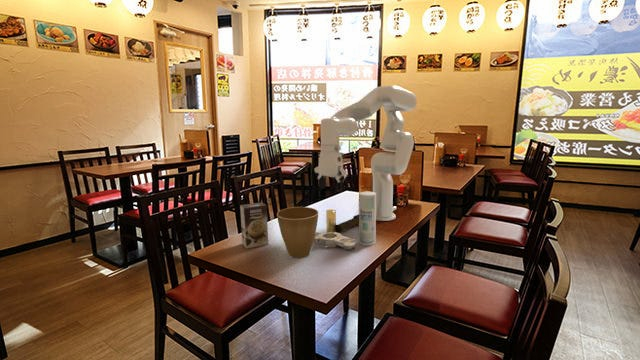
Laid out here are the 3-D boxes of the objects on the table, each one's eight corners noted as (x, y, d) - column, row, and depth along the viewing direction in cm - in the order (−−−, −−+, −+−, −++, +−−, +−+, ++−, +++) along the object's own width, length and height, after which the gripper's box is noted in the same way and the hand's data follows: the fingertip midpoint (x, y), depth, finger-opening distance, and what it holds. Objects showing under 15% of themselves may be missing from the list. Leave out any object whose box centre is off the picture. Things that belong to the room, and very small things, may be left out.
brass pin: (330, 231, 154) (330, 208, 152) (337, 233, 151) (337, 210, 149) (324, 233, 151) (324, 210, 149) (331, 235, 148) (331, 212, 146)
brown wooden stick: (340, 234, 150) (340, 224, 149) (333, 232, 152) (333, 222, 152) (367, 224, 163) (367, 214, 162) (360, 222, 166) (360, 212, 165)
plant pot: (275, 249, 134) (273, 209, 131) (313, 244, 138) (312, 205, 135) (282, 265, 120) (280, 220, 117) (324, 259, 124) (323, 215, 121)
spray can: (377, 240, 141) (377, 191, 137) (374, 246, 135) (374, 195, 131) (361, 238, 143) (361, 190, 140) (357, 244, 137) (357, 194, 134)
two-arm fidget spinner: (316, 233, 151) (315, 226, 151) (361, 246, 135) (361, 239, 134) (300, 239, 145) (300, 232, 144) (346, 253, 128) (346, 246, 128)
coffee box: (246, 249, 135) (243, 208, 132) (241, 243, 141) (239, 204, 138) (269, 244, 140) (267, 205, 137) (263, 239, 145) (261, 201, 142)
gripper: (352, 149, 141) (352, 191, 144) (320, 147, 153) (321, 186, 156) (340, 150, 136) (340, 194, 139) (308, 148, 147) (309, 188, 150)
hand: (330, 189), depth 147 cm, fingers open, 9 cm apart
